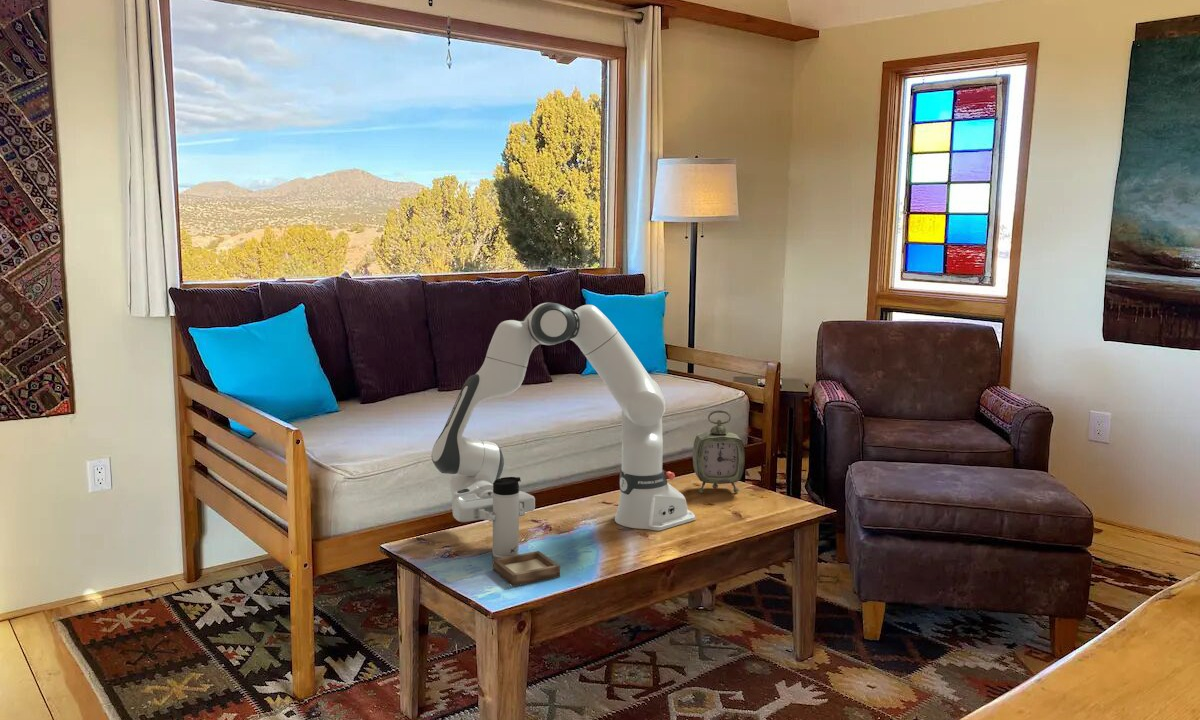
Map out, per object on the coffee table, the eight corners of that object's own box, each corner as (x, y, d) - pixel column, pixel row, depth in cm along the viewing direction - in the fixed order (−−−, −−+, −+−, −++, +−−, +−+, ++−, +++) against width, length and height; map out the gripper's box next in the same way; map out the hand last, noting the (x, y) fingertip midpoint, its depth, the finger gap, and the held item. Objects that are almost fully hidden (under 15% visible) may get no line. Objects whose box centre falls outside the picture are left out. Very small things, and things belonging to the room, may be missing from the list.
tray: (538, 561, 224) (538, 550, 223) (560, 576, 214) (560, 566, 214) (492, 570, 218) (492, 559, 217) (512, 586, 208) (512, 575, 208)
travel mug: (519, 562, 223) (520, 481, 220) (492, 562, 222) (492, 481, 219) (519, 553, 229) (520, 474, 226) (493, 553, 228) (493, 474, 225)
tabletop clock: (695, 495, 278) (698, 413, 275) (690, 486, 287) (692, 407, 283) (743, 494, 280) (746, 413, 276) (736, 486, 288) (739, 407, 285)
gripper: (521, 506, 240) (546, 521, 229) (446, 518, 230) (468, 534, 218) (521, 482, 239) (546, 496, 228) (446, 493, 229) (468, 508, 217)
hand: (507, 515), depth 223 cm, fingers closed on travel mug, 6 cm apart
